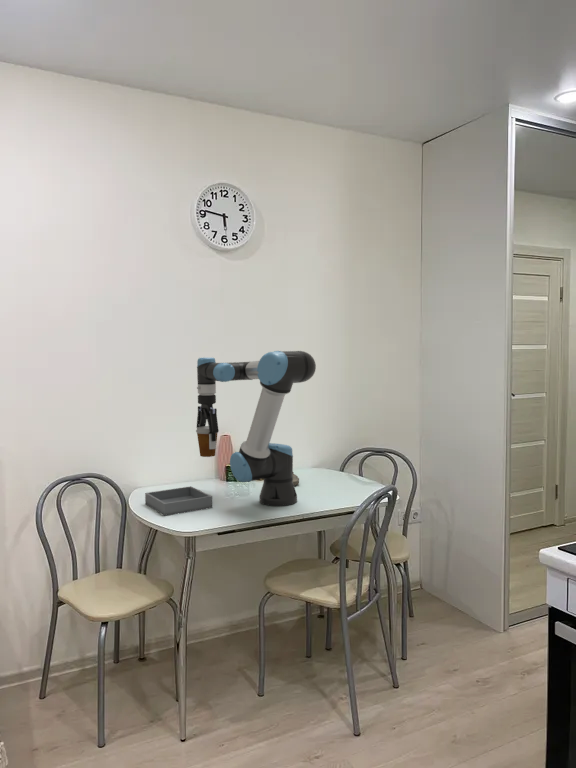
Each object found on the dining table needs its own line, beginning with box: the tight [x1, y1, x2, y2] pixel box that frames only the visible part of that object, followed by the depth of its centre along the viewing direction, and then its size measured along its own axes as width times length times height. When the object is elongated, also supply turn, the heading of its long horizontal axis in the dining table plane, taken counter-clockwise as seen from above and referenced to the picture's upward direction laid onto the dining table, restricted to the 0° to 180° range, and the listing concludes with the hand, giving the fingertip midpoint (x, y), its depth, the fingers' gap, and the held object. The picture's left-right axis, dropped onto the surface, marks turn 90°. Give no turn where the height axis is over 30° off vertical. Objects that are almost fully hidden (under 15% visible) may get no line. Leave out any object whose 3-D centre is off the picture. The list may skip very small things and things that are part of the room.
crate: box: [144, 486, 213, 517], centre depth 240 cm, size 20×20×4 cm
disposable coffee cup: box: [195, 425, 219, 458], centre depth 259 cm, size 10×10×12 cm
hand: (207, 447), depth 259 cm, fingers closed on disposable coffee cup, 9 cm apart
